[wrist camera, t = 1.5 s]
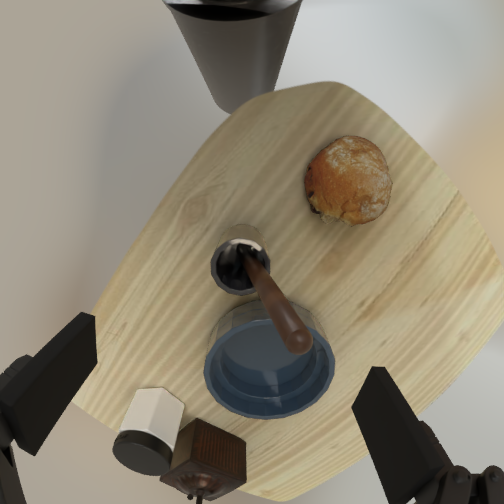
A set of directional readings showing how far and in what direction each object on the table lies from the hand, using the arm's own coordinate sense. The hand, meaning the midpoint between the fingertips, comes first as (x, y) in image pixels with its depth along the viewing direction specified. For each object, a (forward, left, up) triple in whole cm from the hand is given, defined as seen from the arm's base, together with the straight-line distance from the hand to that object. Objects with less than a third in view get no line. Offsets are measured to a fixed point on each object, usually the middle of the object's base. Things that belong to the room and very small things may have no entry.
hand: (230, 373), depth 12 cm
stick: (0, 0, -23) cm, 23 cm away
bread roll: (-10, +10, -23) cm, 27 cm away
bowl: (+13, +6, -23) cm, 27 cm away
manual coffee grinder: (+37, +3, -23) cm, 44 cm away
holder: (0, 0, -23) cm, 23 cm away
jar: (+28, -8, -23) cm, 37 cm away
